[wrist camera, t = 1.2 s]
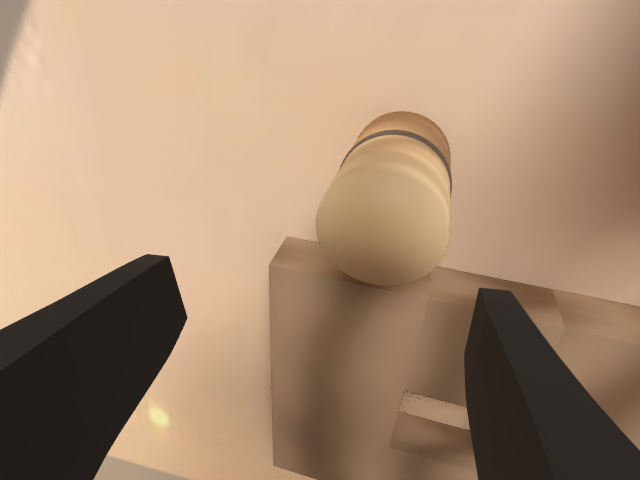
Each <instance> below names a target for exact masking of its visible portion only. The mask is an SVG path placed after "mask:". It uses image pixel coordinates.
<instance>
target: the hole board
mask: <svg viewBox="0 0 640 480" xmlns="http://www.w3.org/2000/svg"><path fill="white" fill-rule="evenodd" d="M479 288H489V289H499V290H509V291H511V292H512V293H513V294H514V296H515V297H516V298H517V300H518V301H519V302H520V304H521V305H522V307H523V308H524V309H525V311H526V312H527V314H528V315H529V316H530V318H531V319H532V321H533V322H534V323H535V325H536V326H537V328H538V329H539V330H540V332H541V333H542V334H543V336H544V337H545V338H546V340H547V341H548V342H549V344H550V345H551V346H552V348H553V349H554V350H555V352H556V353H557V354H558V355H559V357H560V358H561V359H562V360H563V362H564V363H565V364H566V365H567V367H568V368H569V369H570V370H571V372H572V373H573V374H574V375H575V377H576V378H577V379H578V380H579V382H580V383H581V384H582V385H583V387H584V388H585V389H586V390H587V391H588V393H589V394H590V395H591V396H592V397H593V399H594V400H595V401H596V402H597V403H598V404H599V406H600V407H601V408H602V409H603V410H604V411H605V412H606V413H607V415H608V416H609V417H610V418H611V419H612V420H613V421H614V423H615V424H616V425H617V426H618V427H619V428H620V429H621V431H622V432H623V433H624V434H625V435H626V436H627V437H628V438H629V439H630V440H631V441H632V443H633V444H634V445H635V446H636V447H637V448H638V449H639V450H640V307H637V306H632V305H627V304H622V303H617V302H612V301H607V300H602V299H597V298H592V297H587V296H582V295H577V294H572V293H567V292H562V291H557V290H552V289H547V288H542V287H537V286H532V285H527V284H522V283H517V282H512V281H507V280H501V279H496V278H491V277H486V276H481V275H476V274H471V273H466V272H461V271H456V270H451V269H446V268H441V267H435V268H434V269H433V270H432V271H431V272H429V273H428V274H427V275H425V276H423V277H422V278H420V279H418V280H415V281H413V282H410V283H406V284H402V285H394V286H382V285H374V284H370V283H366V282H363V281H360V280H357V279H355V278H353V277H351V276H349V275H347V274H346V273H344V272H343V271H341V270H340V269H339V268H338V267H336V266H335V265H334V264H333V263H332V262H331V260H330V259H329V258H328V257H327V255H326V254H325V252H324V251H323V249H322V247H321V245H320V243H316V242H311V241H306V240H301V239H296V238H290V237H286V239H285V240H284V242H283V243H282V245H281V247H280V248H279V250H278V251H277V253H276V254H275V256H274V258H273V259H272V261H271V262H270V264H269V292H270V335H271V378H272V422H273V465H274V466H276V467H279V468H282V469H286V470H289V471H292V472H295V473H298V474H301V475H305V476H308V477H311V478H314V479H317V480H478V476H477V469H476V463H475V457H474V450H473V444H472V438H471V431H467V430H464V429H460V428H456V427H453V426H449V425H445V424H441V423H438V422H434V421H430V420H427V419H423V418H419V417H416V416H412V415H408V414H405V413H401V412H398V411H399V408H400V404H401V400H402V397H403V393H404V391H408V392H411V393H415V394H419V395H423V396H427V397H431V398H434V399H438V400H442V401H446V402H450V403H454V404H457V405H461V406H465V407H467V405H466V395H465V371H464V352H465V348H466V343H467V339H468V334H469V330H470V325H471V321H472V317H473V312H474V308H475V303H476V299H477V294H478V290H479Z"/></svg>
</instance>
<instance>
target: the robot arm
mask: <svg viewBox="0 0 640 480" xmlns="http://www.w3.org/2000/svg"><path fill="white" fill-rule="evenodd" d="M186 320H187V315H186V311H185V308H184V305H183V301H182V298H181V295H180V291H179V288H178V285H177V281H176V278H175V275H174V272H173V268H172V265H171V262H170V258H169V256H160V255H150V254H146V255H144V256H142V257H139V258H137V259H135V260H133V261H131V262H129V263H127V264H125V265H123V266H121V267H119V268H117V269H115V270H114V271H112V272H110V273H108V274H106V275H104V276H102V277H101V278H99V279H97V280H95V281H93V282H91V283H89V284H88V285H86V286H84V287H82V288H80V289H78V290H77V291H75V292H73V293H71V294H69V295H67V296H65V297H64V298H62V299H60V300H58V301H56V302H54V303H52V304H50V305H48V306H46V307H44V308H42V309H40V310H38V311H36V312H34V313H33V314H31V315H29V316H27V317H25V318H23V319H21V320H19V321H17V322H15V323H13V324H11V325H9V326H7V327H5V328H3V329H1V330H0V480H93V479H94V477H95V475H96V473H97V472H98V470H99V468H100V466H101V464H102V462H103V460H104V458H105V457H106V455H107V453H108V451H109V450H110V448H111V446H112V445H113V443H114V441H115V440H116V438H117V436H118V435H119V433H120V432H121V430H122V429H123V427H124V426H125V424H126V423H127V421H128V419H129V418H130V416H131V415H132V413H133V412H134V410H135V409H136V407H137V406H138V404H139V403H140V401H141V400H142V398H143V396H144V395H145V393H146V392H147V390H148V389H149V387H150V386H151V384H152V383H153V381H154V379H155V378H156V376H157V375H158V373H159V372H160V370H161V369H162V367H163V365H164V364H165V362H166V361H167V359H168V357H169V356H170V354H171V352H172V350H173V348H174V346H175V344H176V342H177V340H178V338H179V336H180V333H181V331H182V329H183V327H184V324H185V322H186ZM464 371H465V395H466V405H467V412H468V418H469V425H470V431H471V438H472V444H473V450H474V457H475V463H476V469H477V476H478V480H640V450H639V449H638V448H637V447H636V446H635V445H634V444H633V443H632V441H631V440H630V439H629V438H628V437H627V436H626V435H625V434H624V433H623V432H622V431H621V429H620V428H619V427H618V426H617V425H616V424H615V423H614V421H613V420H612V419H611V418H610V417H609V416H608V415H607V413H606V412H605V411H604V410H603V409H602V408H601V407H600V406H599V404H598V403H597V402H596V401H595V400H594V399H593V397H592V396H591V395H590V394H589V393H588V391H587V390H586V389H585V388H584V387H583V385H582V384H581V383H580V382H579V380H578V379H577V378H576V377H575V375H574V374H573V373H572V372H571V370H570V369H569V368H568V367H567V365H566V364H565V363H564V362H563V360H562V359H561V358H560V357H559V355H558V354H557V353H556V352H555V350H554V349H553V348H552V346H551V345H550V344H549V342H548V341H547V340H546V338H545V337H544V336H543V334H542V333H541V332H540V330H539V329H538V328H537V326H536V325H535V323H534V322H533V321H532V319H531V318H530V316H529V315H528V314H527V312H526V311H525V309H524V308H523V307H522V305H521V304H520V302H519V301H518V300H517V298H516V297H515V296H514V294H513V293H512V292H511V291H509V290H499V289H489V288H479V290H478V294H477V299H476V303H475V308H474V312H473V317H472V321H471V325H470V330H469V334H468V339H467V343H466V348H465V352H464Z"/></svg>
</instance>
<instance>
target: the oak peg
mask: <svg viewBox="0 0 640 480" xmlns="http://www.w3.org/2000/svg"><path fill="white" fill-rule="evenodd" d="M451 189H452V179H451V172H450V148H449V144H448V141H447V139H446V137H445V135H444V134H443V132H442V131H441V129H440V128H439V127H438V126H437V125H436V124H435V123H434V122H432V121H431V120H429V119H428V118H426V117H424V116H422V115H419V114H416V113H412V112H393V113H388V114H385V115H382V116H380V117H378V118H376V119H375V120H373V121H372V122H371V123H370V124H368V125H367V126H366V127H365V129H364V130H363V131H362V132H361V134H360V135H359V137H358V139H357V141H356V142H355V144H354V146H353V147H352V149H351V150H350V151H349V152H348V154H347V155H346V157H345V159H344V160H343V162H342V164H341V166H340V169H339V172H338V173H337V175H336V177H335V178H334V180H333V182H332V184H331V185H330V187H329V189H328V191H327V192H326V194H325V196H324V197H323V199H322V201H321V203H320V205H319V208H318V211H317V216H316V231H317V236H318V240H319V243H320V245H321V247H322V249H323V251H324V252H325V254H326V255H327V257H328V258H329V259H330V260H331V262H332V263H333V264H334V265H335V266H336V267H338V268H339V269H340V270H341V271H343V272H344V273H346V274H347V275H349V276H351V277H353V278H355V279H357V280H360V281H363V282H366V283H370V284H374V285H382V286H394V285H402V284H406V283H410V282H413V281H415V280H418V279H420V278H422V277H423V276H425V275H427V274H428V273H429V272H431V271H432V270H433V269H434V268H435V267H436V266H437V265H438V264H439V262H440V261H441V260H442V258H443V256H444V254H445V253H446V250H447V247H448V243H449V236H450V197H451Z"/></svg>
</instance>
